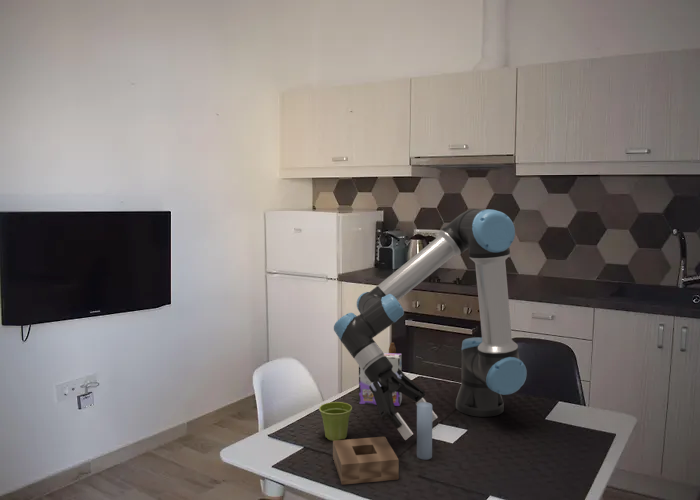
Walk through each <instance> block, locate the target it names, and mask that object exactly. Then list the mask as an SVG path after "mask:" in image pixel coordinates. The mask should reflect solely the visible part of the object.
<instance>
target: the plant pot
mask: <svg viewBox="0 0 700 500" xmlns="http://www.w3.org/2000/svg"><path fill="white" fill-rule="evenodd" d="M318 408H319V409H318V410H319V412H320V416H321V418H322V422H323V423H322V424H323V429H324V435H325V436H324V437H325V438H327V440H329V441H332V442H333V441H336V440H346V438H347V436H348V428H349V422H350V421H349V420H350V416H351V412H352V410H353V406H352V405H351V404H349V403H347V402H341V401H330V402H326V403H323V404H321V405H320V406H319V407H318Z"/></svg>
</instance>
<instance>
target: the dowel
mask: <svg viewBox="0 0 700 500" xmlns="http://www.w3.org/2000/svg"><path fill="white" fill-rule="evenodd" d="M432 410H433V404H432V403H430V402H427V401H426V402H420V403H418V404H417V405H416V457H417V459H420V460H425V461H426V460H430V459H432V458H433V422H432Z"/></svg>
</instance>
